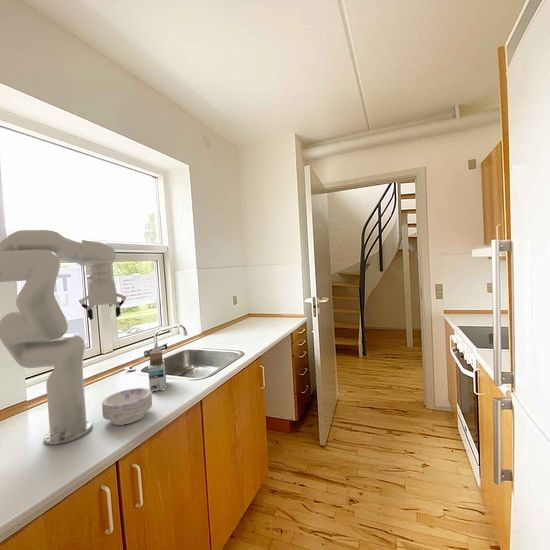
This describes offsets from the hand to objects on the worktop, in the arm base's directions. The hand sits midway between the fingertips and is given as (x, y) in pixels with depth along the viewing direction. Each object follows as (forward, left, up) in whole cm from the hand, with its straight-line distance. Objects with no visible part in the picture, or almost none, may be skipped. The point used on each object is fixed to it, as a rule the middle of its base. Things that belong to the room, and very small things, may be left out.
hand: (104, 318), depth 122 cm
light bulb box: (-4, -19, -33) cm, 38 cm away
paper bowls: (-29, -9, -33) cm, 45 cm away
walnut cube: (-4, -19, -22) cm, 29 cm away
